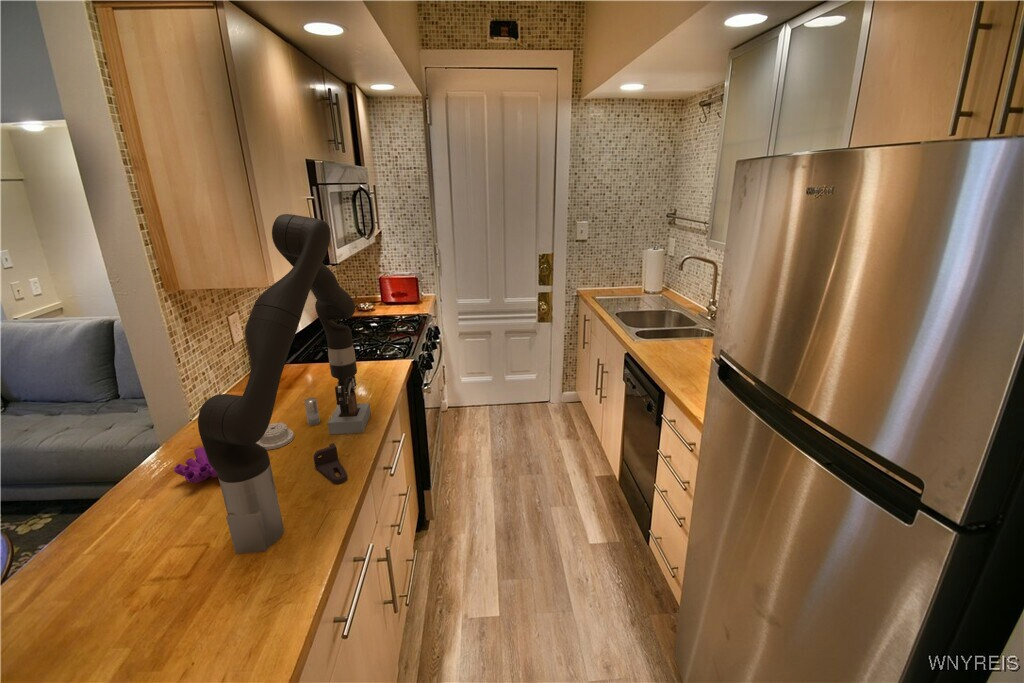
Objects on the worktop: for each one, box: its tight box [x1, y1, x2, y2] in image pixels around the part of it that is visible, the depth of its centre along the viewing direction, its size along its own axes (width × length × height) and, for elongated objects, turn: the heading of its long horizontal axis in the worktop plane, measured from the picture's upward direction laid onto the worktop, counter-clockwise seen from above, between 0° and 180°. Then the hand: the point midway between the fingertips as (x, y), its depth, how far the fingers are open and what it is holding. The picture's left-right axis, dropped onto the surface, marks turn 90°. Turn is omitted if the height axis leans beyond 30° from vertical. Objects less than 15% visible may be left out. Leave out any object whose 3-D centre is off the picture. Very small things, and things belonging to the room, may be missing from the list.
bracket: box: [312, 442, 348, 485], centre depth 117 cm, size 6×12×5 cm, turn 35°
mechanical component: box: [256, 421, 295, 451], centre depth 132 cm, size 10×4×10 cm
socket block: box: [327, 402, 372, 435], centre depth 141 cm, size 12×10×4 cm
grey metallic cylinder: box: [303, 397, 321, 426], centre depth 141 cm, size 4×4×8 cm
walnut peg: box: [340, 392, 358, 417], centre depth 140 cm, size 4×4×10 cm
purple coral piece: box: [173, 446, 218, 484], centre depth 115 cm, size 11×15×10 cm
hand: (348, 407), depth 140 cm, fingers open, 8 cm apart
